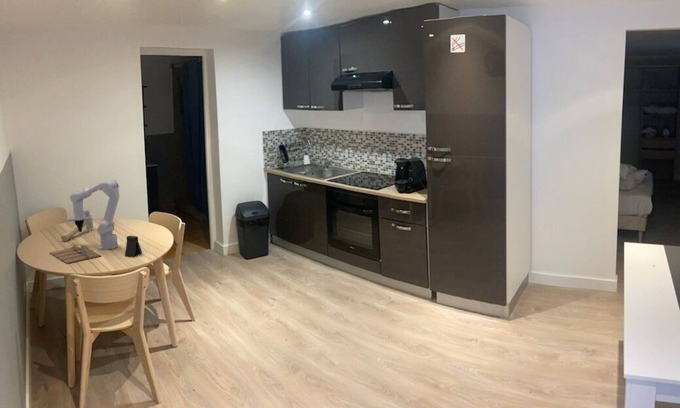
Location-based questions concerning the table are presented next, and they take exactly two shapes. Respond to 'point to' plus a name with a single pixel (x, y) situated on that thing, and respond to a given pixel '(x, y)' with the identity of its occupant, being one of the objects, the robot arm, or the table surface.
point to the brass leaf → (76, 246)
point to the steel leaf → (83, 251)
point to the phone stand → (132, 247)
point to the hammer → (74, 229)
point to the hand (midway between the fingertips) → (80, 231)
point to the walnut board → (73, 255)
